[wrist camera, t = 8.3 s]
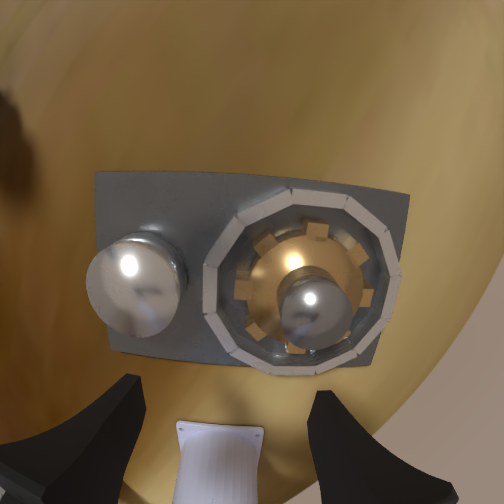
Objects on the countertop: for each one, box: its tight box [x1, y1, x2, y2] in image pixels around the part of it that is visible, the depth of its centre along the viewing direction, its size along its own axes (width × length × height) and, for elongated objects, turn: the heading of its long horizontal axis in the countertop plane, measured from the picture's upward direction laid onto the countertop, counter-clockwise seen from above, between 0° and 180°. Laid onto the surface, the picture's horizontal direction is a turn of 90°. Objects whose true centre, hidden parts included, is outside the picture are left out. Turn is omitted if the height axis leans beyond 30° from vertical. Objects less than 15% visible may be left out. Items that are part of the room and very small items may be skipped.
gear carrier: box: [86, 171, 410, 375], centre depth 17 cm, size 13×20×4 cm, turn 86°
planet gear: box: [234, 218, 374, 354], centre depth 16 cm, size 8×8×4 cm
